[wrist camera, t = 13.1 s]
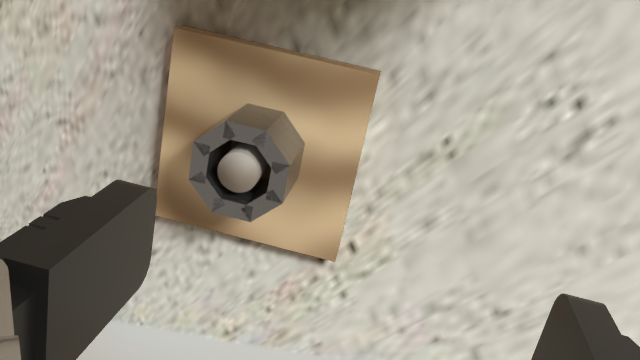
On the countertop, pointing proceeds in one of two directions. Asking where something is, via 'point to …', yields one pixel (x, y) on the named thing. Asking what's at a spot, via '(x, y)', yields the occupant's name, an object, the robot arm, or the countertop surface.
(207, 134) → the ring
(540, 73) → the countertop surface
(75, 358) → the robot arm
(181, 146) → the shaft stand
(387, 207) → the countertop surface
